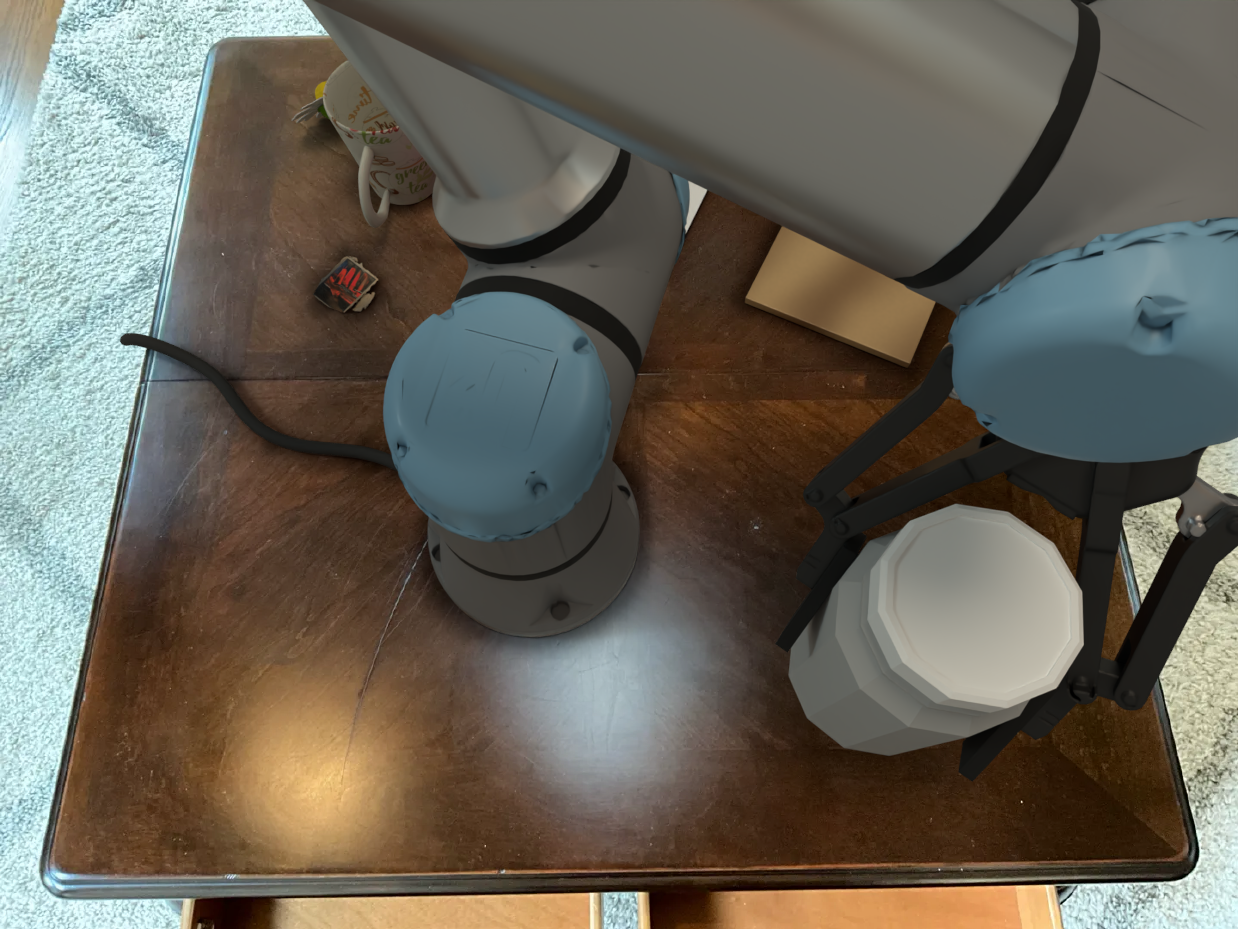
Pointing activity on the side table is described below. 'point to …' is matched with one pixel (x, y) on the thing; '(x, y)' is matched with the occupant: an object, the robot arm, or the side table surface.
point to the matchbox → (346, 286)
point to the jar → (938, 633)
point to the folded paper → (694, 201)
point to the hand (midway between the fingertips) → (875, 697)
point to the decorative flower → (313, 106)
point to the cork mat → (840, 298)
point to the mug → (375, 145)
